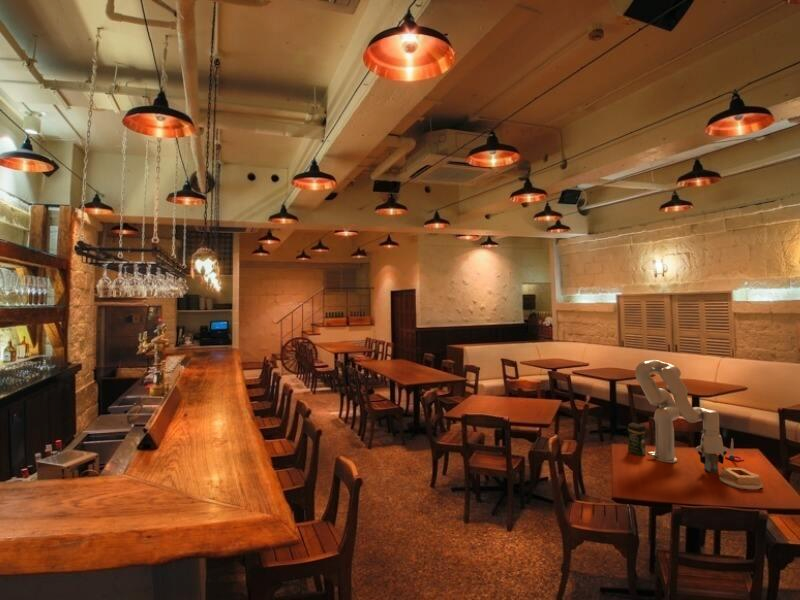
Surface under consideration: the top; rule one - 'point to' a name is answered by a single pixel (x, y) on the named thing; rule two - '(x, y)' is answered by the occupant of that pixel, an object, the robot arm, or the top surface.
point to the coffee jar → (636, 439)
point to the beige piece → (740, 478)
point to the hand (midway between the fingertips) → (711, 462)
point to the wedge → (711, 463)
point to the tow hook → (731, 456)
